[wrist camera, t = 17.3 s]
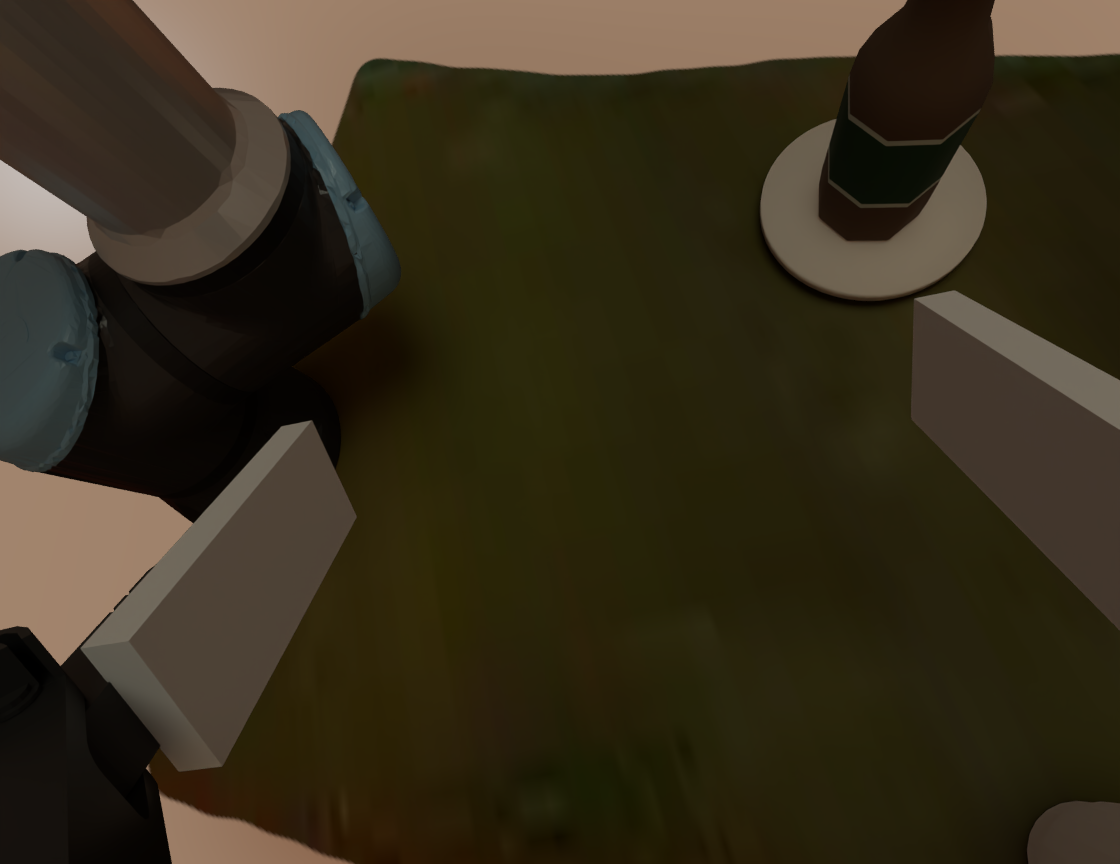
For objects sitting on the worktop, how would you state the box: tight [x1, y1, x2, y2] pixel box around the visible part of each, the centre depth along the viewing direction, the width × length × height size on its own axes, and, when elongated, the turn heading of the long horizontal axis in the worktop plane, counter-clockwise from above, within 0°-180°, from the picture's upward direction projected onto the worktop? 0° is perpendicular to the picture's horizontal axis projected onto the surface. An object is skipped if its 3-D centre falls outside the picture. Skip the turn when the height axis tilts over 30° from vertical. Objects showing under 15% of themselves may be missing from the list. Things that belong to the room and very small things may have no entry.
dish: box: [760, 119, 987, 301], centre depth 50 cm, size 16×16×2 cm
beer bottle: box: [819, 0, 995, 241], centre depth 38 cm, size 8×8×24 cm
